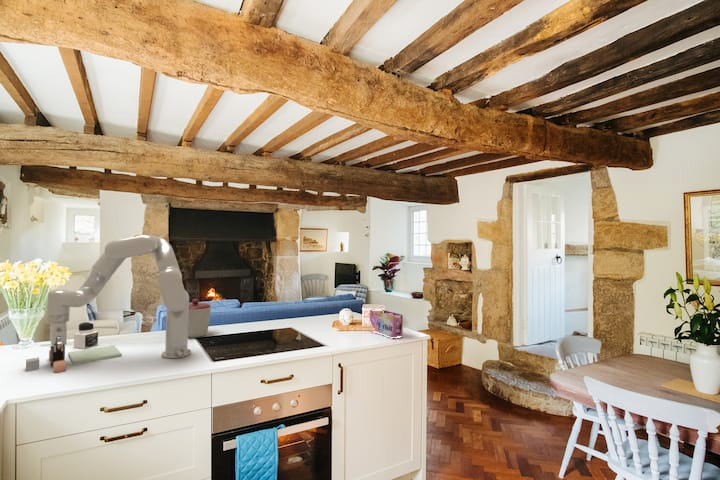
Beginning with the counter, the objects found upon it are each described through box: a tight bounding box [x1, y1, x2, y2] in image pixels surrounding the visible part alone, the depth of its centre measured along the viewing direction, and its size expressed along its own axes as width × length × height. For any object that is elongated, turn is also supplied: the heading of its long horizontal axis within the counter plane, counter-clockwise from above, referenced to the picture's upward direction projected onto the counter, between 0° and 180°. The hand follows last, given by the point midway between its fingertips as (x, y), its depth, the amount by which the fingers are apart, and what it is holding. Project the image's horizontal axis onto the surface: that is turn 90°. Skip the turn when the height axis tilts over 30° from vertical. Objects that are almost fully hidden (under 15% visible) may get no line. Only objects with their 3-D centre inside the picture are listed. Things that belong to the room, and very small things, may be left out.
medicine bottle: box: [73, 321, 99, 350], centre depth 186 cm, size 7×7×12 cm
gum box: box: [369, 309, 404, 337], centre depth 223 cm, size 24×8×14 cm, turn 36°
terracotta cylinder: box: [52, 359, 67, 374], centre depth 151 cm, size 4×4×4 cm
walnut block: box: [49, 345, 66, 368], centre depth 159 cm, size 4×4×8 cm
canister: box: [188, 298, 213, 339], centre depth 211 cm, size 18×18×21 cm
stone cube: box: [25, 357, 40, 372], centre depth 153 cm, size 4×4×4 cm
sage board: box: [67, 345, 123, 365], centre depth 172 cm, size 18×18×1 cm
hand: (56, 358), depth 158 cm, fingers open, 9 cm apart
